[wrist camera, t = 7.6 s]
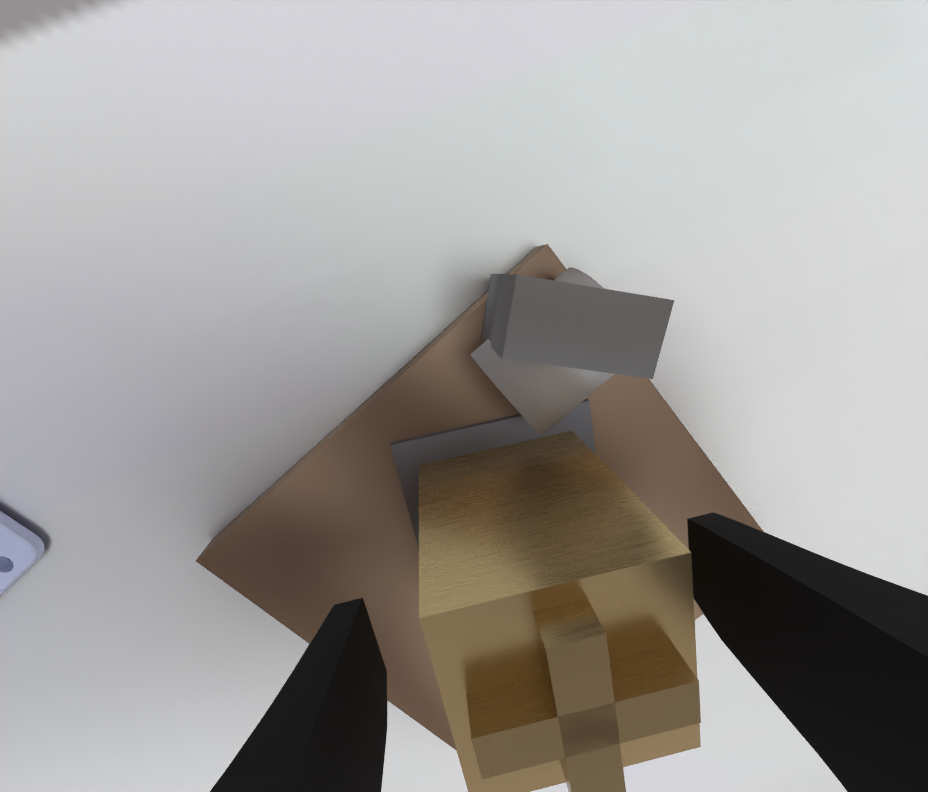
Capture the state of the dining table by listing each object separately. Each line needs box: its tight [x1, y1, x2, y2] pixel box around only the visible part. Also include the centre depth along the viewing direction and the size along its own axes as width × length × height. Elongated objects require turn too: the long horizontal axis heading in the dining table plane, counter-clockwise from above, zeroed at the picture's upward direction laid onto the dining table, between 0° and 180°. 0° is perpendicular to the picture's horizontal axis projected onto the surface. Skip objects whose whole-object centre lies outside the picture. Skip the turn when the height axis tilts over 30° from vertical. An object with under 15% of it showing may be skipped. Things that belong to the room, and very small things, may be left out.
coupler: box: [419, 431, 701, 792], centre depth 10 cm, size 4×4×6 cm
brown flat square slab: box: [196, 244, 763, 750], centre depth 12 cm, size 14×13×4 cm
